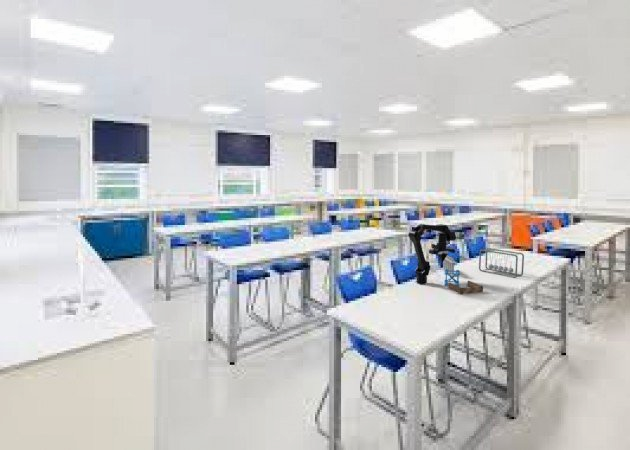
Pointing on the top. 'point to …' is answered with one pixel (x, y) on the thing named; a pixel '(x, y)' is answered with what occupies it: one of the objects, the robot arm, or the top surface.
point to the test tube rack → (448, 265)
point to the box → (466, 288)
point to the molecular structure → (452, 277)
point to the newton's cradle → (501, 261)
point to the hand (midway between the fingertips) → (441, 262)
